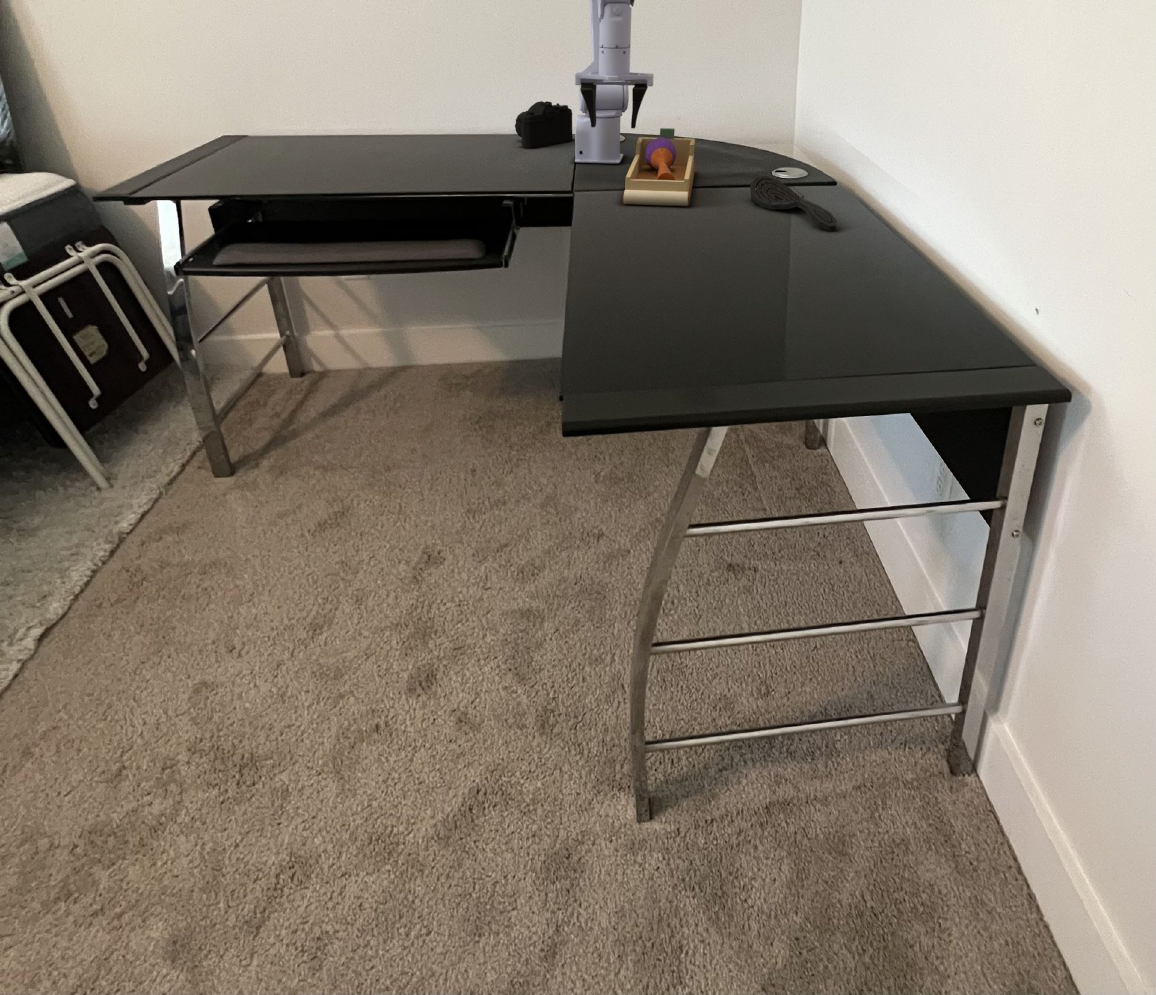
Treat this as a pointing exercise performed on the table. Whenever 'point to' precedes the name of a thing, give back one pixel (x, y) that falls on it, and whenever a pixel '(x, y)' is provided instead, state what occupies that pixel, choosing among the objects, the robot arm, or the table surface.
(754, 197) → the hairbrush
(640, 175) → the wooden tray
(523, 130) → the film camera
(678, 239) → the table surface
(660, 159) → the kendama
